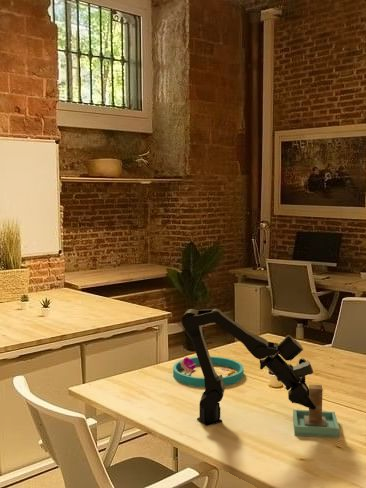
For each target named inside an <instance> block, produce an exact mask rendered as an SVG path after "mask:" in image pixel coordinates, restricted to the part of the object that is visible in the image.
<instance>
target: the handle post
mask: <svg viewBox="0 0 366 488" xmlns="http://www.w3.org/2000/svg"><path fill="white" fill-rule="evenodd" d="M308 388H309V398H310V399H311V401H312V402H313V404H314V405H315V407H316V409H314V410H313V409H310V408H308V410H309V416H304V425H305V426H317V427H327V424H326V419H325V417H322V411H323V391H324V390H323V385H322V384H309V385H308Z"/></svg>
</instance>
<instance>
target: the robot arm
mask: <svg viewBox="0 0 366 488" xmlns="http://www.w3.org/2000/svg"><path fill="white" fill-rule="evenodd" d="M213 323H214V324H216V325H217V326H218V327H220V328H221V329H222V330H224V331H226V332H227V333H228V334H230V336H232V337H233V338H235V339H236V340H238V341H239V342H240V343H241V344H243V346H244V348H245V349H247V350H248V352H249V353H250V354H251V355H252V356H253V357H254V358H256V359H258V360H259V370H263V369H264V368H265V367H266V368H267V369H268V370H269V371H270V372H271V373H272V374H273V375H274V376H275V377H276V380H277V382H280V383H282V384H283V385H284V386H285V390H286V391H287V399H288V400H289V401H290V402H291V404H297V405H300V406H303V407H306V408H307V409H309V408H310V409H313V410H314V409H316V407H315V405H314V404H313V402H312V401H311V399H310V398H309V385H308V384H307V383H306V376H308V375H309V376H310V375H312V374H314V369H313V367H312V364H311V362H310V361H309V360H308V359H307V360H306V359H305V358H303V357H301V358H299V359H298V363H297V364H296V365H294V366H293V365H292V364H290V363H288V362H287V361H291V362H292V361H293V360H294V359H295V358H296V357H297V356H298V355H300V353H302V352H303V351H304V348H303V346H302V344H300V342H299V341H298V340H297V339H295V338H294V337H293V336H291V335H290V334H287V335H286V336H285V338H283V340H282V341H280V342H279V343H278V342H273V341H268V339H266V338H264V337H262V336H260V335H257V334H255V333H252V332H250V331H248V330H247V329H245V328H244V326H242V325H240V324H239V323H237V322H236V321H235V320H233V319H232V318H230V317H229V316H228V315H226V314H225V313H223V312H222V310H221V309H219V308H214V309H213V308H212V309H199V310H198V309H195V308H190V309H187V310H186V311H185V312H184V314H183V316H182V317H181V325H182V327H183V329H184V330H185V333H186V334H187V335H188V336H189V338H190V340H191V342H192V344H193V348H194V351H195V354H196V357H198V360H199V363H200V365H199V367H200V370H201V373H202V375H203V378H204V382H205V387H204V392H202V394H201V397H200V400H199V405H198V406H199V417H197V418H196V420H197V421H199V422H200V423H201V424H203V425H205V426H207V427H208V426H212V425H216V424H220V423H223V420H222V419H221V406H220V402H221V401H222V400H223V397H224V393H225V389H226V386H225V383H224V382H223V377H224V376H223V374H220V375H218V374H217V372H216V371H215V368H214V365H213V364H212V361H211V358H210V352H209V350H208V345H207V343H206V340H205V338H204V335H203V334H204V333H203V326H205V325H209V324H213Z"/></svg>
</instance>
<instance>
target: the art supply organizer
mask: <svg viewBox="0 0 366 488" xmlns="http://www.w3.org/2000/svg"><path fill="white" fill-rule="evenodd" d="M210 358H211V361H212V364H214V365H213V366H221V365H223V366H222V368H221V369H222V371H224V372H226V371H227V370H230V369H233V368H234V369H233V370H231V372H229V373H227V374H225V376H222V377H223V382H224V383H225V387H226V386H230V385H234V384H237V383H238V382H240V381H241V380H243V379H244V375H245V374H244V370H245V369H244V366H243V364H242V363H240V362H239V361H236V360H234V359H232V358H231V359H230V358H227V357H222V356H210ZM196 366H200V363H199V360H198V357H197V356H193V357H185V358H184V359H181V360H178V361H177V362H175V363H174V364H173V367H172V368H173V369H172V372H173V373H172V374H173V375H172V376H173V377H172V378H174V380H176V381H177V382H179V383H182V384H183V385H188V386H193V387H202V388H205V382H204V377H199V376H192V372H193V371H194V370H195V369H196ZM226 367H227V368H226ZM230 367H231V368H230ZM182 369H183V371H184V373H181V372H180V370H182ZM235 369H236V371H235ZM238 371H239V372H238ZM236 382H237V383H236Z"/></svg>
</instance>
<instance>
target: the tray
mask: <svg viewBox="0 0 366 488" xmlns="http://www.w3.org/2000/svg"><path fill="white" fill-rule="evenodd" d="M292 411H293V412H292V421H293V422H292V423H293V430H294V431H293V432H294V433H293V434H294V436H299V437H300V436H301V437H314V438H315V437H318V438H329V439H330V438H331V439H332V438H333V439H340V427H339V422H338V419H337V415H336V411H328V410H327V411H326V410H322V417H325V419H326V424H327V427H317V426H305V425H304V416H309V409H306V410H305V409H293V410H292Z"/></svg>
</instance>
